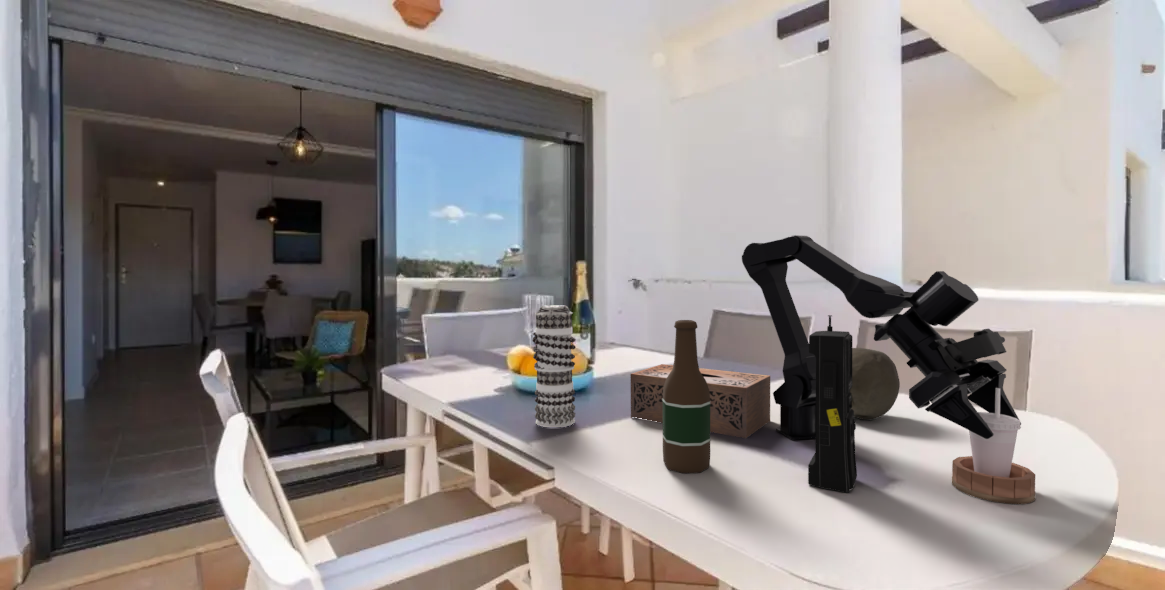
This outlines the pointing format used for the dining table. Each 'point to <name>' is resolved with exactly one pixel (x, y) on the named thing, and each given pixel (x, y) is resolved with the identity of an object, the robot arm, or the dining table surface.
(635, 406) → the tissue box cover
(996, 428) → the smoothie
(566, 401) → the decorative candle
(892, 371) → the round brown rock
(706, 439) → the beer bottle
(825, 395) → the portable radio
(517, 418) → the dining table surface
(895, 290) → the robot arm
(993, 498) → the round brown planter pot
